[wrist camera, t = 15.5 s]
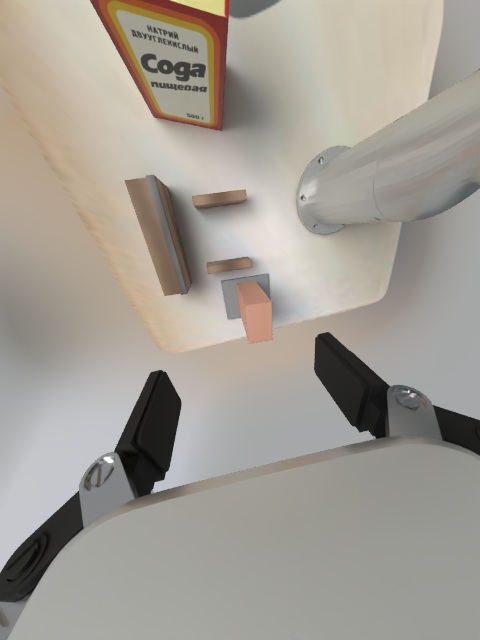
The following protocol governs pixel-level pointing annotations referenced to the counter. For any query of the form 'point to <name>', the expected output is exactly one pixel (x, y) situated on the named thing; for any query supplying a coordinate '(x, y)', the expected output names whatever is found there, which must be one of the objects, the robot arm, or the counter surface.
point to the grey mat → (232, 292)
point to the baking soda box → (173, 54)
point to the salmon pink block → (255, 312)
